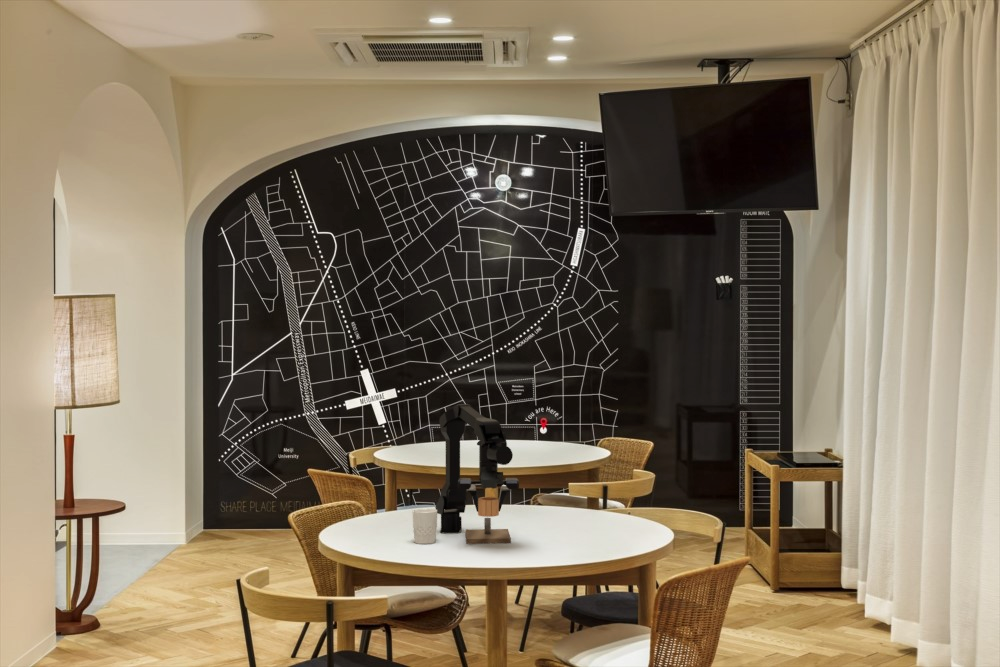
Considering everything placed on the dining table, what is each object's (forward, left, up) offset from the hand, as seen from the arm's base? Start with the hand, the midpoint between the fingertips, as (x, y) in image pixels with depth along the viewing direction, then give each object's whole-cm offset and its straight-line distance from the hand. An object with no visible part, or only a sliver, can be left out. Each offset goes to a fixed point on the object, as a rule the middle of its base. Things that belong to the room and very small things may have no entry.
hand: (488, 511), depth 299 cm
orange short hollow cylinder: (0, 0, -1) cm, 1 cm away
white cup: (-20, +7, -11) cm, 24 cm away
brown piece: (0, +11, -11) cm, 15 cm away
